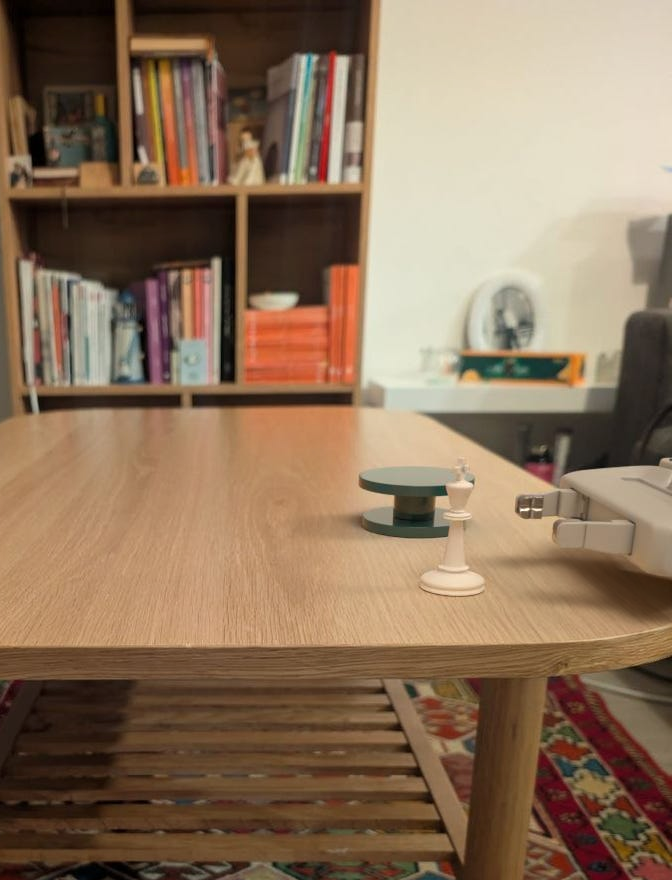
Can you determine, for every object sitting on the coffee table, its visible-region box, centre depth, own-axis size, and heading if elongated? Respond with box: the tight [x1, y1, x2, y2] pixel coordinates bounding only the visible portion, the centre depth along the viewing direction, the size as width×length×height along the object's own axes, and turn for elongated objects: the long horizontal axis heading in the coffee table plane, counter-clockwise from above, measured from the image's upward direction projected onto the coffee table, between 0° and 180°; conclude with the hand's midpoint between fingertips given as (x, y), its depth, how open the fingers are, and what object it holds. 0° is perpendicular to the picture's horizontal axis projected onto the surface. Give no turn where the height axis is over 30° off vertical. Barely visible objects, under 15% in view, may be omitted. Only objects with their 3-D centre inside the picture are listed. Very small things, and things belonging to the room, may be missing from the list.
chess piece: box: [419, 457, 486, 597], centre depth 72 cm, size 5×5×10 cm
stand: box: [357, 465, 476, 539], centre depth 93 cm, size 11×11×5 cm
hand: (535, 519), depth 71 cm, fingers open, 8 cm apart
